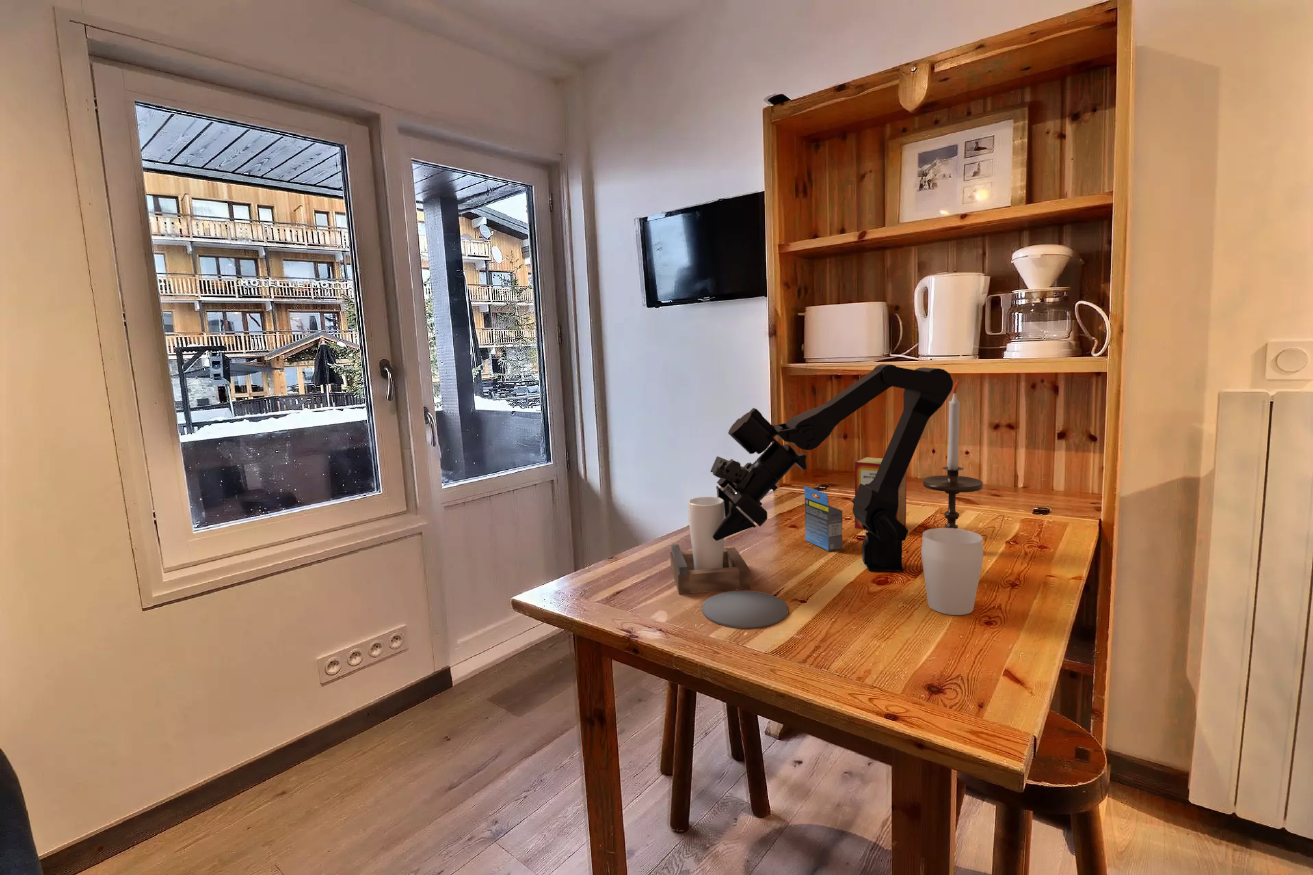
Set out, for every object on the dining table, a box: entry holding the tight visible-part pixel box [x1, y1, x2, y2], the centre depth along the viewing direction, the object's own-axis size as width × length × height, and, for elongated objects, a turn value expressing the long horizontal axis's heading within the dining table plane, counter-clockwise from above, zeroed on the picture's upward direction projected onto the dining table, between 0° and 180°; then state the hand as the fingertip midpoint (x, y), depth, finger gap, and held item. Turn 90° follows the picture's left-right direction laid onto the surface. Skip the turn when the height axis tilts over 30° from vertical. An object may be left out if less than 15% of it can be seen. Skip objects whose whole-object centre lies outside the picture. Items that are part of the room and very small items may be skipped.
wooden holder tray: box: [669, 544, 752, 595], centre depth 121 cm, size 13×13×5 cm
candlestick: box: [922, 378, 984, 529], centre depth 129 cm, size 11×11×35 cm
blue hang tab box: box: [803, 485, 843, 552], centre depth 137 cm, size 9×4×12 cm, turn 20°
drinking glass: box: [688, 496, 725, 570], centre depth 120 cm, size 7×7×15 cm
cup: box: [920, 527, 984, 616], centre depth 103 cm, size 9×9×12 cm
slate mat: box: [701, 590, 789, 629], centre depth 107 cm, size 14×14×1 cm
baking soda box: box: [854, 456, 908, 530], centre depth 147 cm, size 10×6×16 cm
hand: (709, 531), depth 120 cm, fingers open, 9 cm apart
